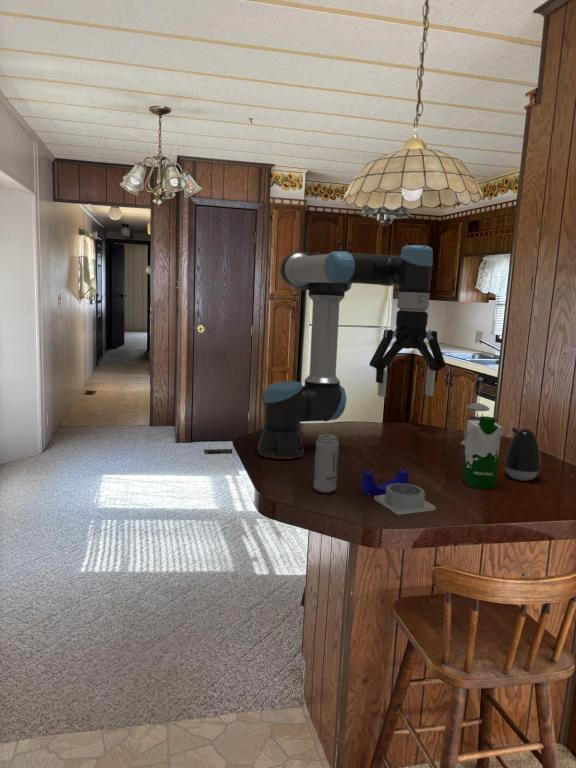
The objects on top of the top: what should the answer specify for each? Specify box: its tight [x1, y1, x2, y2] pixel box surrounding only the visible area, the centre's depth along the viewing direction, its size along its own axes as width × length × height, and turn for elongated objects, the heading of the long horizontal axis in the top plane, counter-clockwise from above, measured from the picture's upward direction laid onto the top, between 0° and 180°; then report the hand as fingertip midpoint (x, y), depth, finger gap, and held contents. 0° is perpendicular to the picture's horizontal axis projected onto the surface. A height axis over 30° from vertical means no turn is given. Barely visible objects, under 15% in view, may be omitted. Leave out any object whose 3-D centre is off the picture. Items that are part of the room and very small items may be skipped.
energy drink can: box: [313, 433, 340, 492], centre depth 153 cm, size 6×6×15 cm
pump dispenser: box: [503, 427, 542, 482], centre depth 172 cm, size 10×10×15 cm
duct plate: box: [373, 483, 436, 516], centre depth 146 cm, size 11×11×4 cm
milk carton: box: [462, 415, 503, 490], centre depth 164 cm, size 9×9×20 cm
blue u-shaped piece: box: [361, 469, 410, 497], centre depth 155 cm, size 12×4×6 cm, turn 106°
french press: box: [460, 377, 490, 446], centre depth 209 cm, size 10×12×25 cm
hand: (405, 395), depth 144 cm, fingers open, 13 cm apart
